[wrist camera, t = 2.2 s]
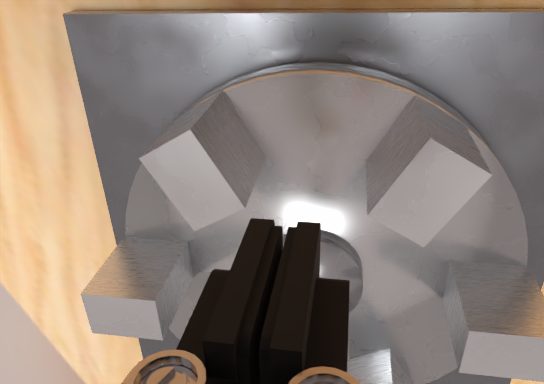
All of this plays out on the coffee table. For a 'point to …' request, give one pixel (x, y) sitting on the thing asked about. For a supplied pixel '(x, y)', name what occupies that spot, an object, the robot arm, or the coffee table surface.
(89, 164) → the coffee table surface
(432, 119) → the gear wheel
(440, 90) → the base plate
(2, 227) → the coffee table surface
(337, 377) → the robot arm
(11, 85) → the coffee table surface
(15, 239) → the coffee table surface
